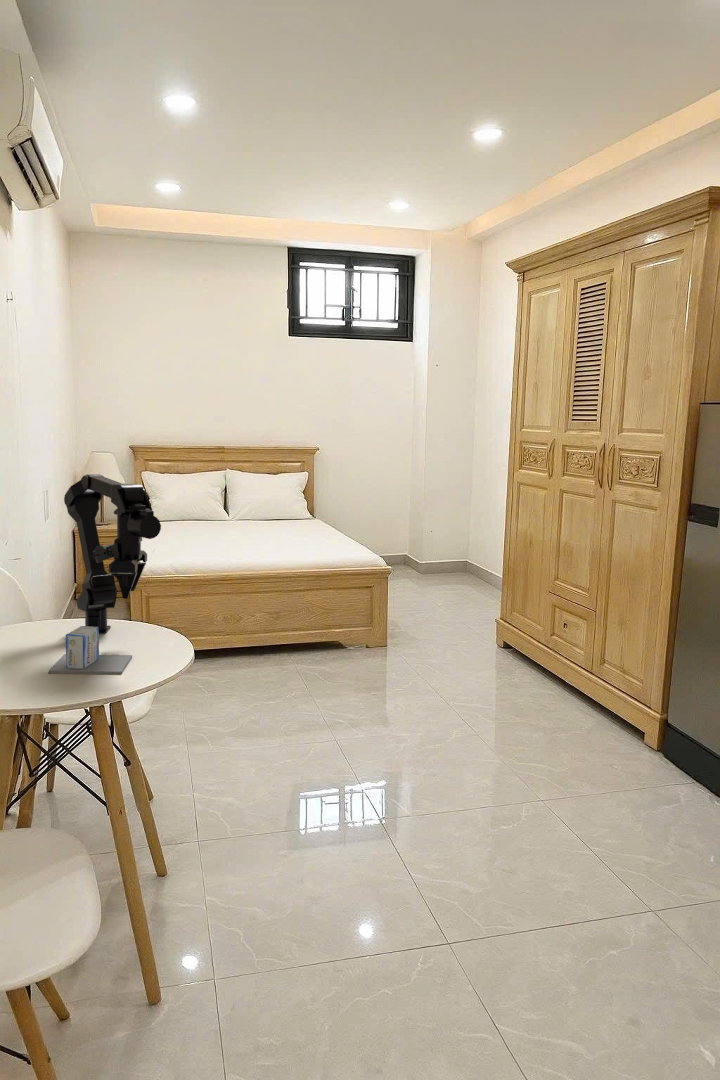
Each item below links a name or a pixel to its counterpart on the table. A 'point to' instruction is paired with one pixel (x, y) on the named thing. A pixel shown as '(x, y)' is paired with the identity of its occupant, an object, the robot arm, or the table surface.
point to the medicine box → (82, 647)
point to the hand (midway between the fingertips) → (128, 594)
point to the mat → (95, 665)
